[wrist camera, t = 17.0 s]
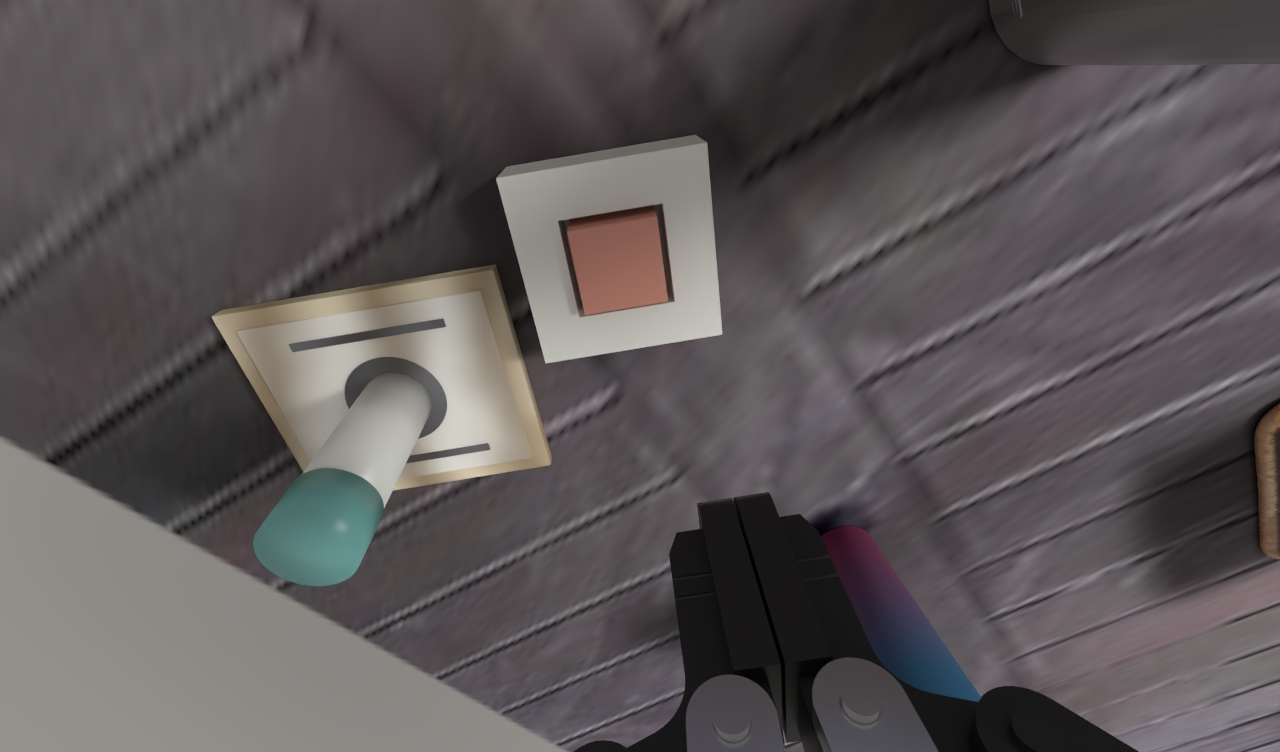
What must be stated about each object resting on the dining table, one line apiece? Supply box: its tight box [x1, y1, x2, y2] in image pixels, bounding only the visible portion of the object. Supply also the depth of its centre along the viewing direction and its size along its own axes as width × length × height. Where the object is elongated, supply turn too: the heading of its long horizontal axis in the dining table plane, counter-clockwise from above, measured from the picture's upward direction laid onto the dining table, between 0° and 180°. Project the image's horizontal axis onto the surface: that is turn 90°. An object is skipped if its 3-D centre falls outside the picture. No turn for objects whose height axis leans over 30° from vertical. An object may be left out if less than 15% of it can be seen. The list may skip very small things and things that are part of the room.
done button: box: [567, 205, 668, 315], centre depth 28 cm, size 4×4×3 cm
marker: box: [253, 373, 432, 586], centre depth 28 cm, size 4×4×12 cm
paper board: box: [211, 264, 552, 490], centre depth 34 cm, size 16×14×1 cm
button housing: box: [496, 135, 722, 363], centre depth 29 cm, size 10×10×4 cm
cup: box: [821, 526, 981, 702], centre depth 38 cm, size 7×7×15 cm
